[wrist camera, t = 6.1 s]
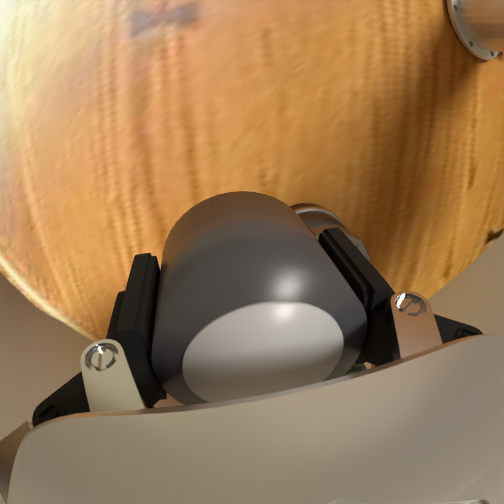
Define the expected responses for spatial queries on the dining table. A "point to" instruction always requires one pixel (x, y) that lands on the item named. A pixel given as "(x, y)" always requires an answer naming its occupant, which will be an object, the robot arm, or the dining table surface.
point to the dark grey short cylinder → (250, 304)
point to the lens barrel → (325, 223)
